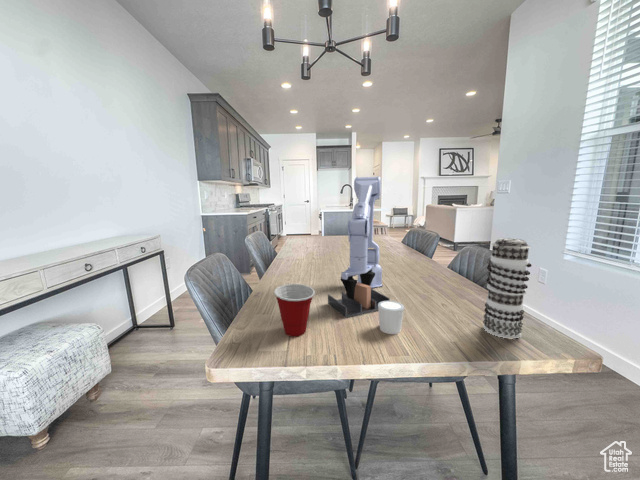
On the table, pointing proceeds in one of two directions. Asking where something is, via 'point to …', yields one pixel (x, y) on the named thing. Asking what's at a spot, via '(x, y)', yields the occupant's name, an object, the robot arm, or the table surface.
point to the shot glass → (390, 316)
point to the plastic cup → (294, 307)
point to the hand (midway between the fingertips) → (358, 295)
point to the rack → (355, 304)
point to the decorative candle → (506, 287)
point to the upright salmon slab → (363, 294)
